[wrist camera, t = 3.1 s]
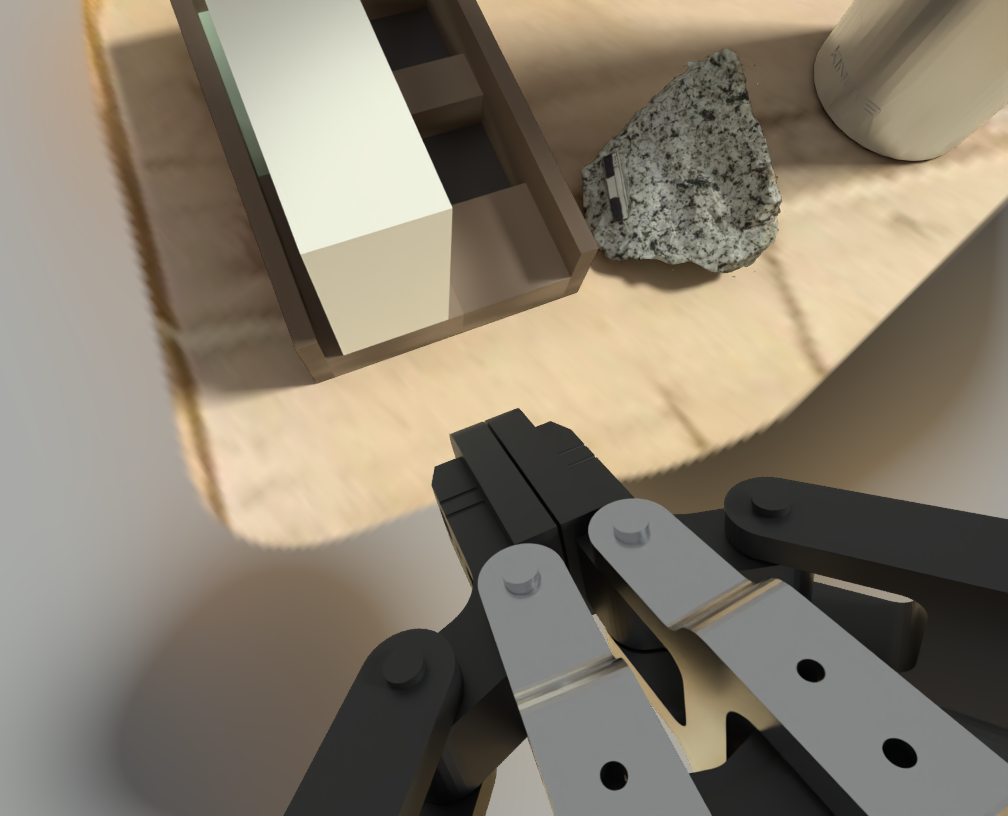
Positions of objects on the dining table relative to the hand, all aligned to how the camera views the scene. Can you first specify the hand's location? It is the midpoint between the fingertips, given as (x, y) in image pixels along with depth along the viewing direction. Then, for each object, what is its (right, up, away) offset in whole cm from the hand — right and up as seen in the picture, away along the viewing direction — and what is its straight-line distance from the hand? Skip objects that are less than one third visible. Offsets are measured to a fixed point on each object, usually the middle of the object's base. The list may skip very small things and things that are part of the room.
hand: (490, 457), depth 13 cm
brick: (-6, +8, +13) cm, 17 cm away
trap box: (-6, +13, +17) cm, 22 cm away
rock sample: (+8, +10, +18) cm, 22 cm away
